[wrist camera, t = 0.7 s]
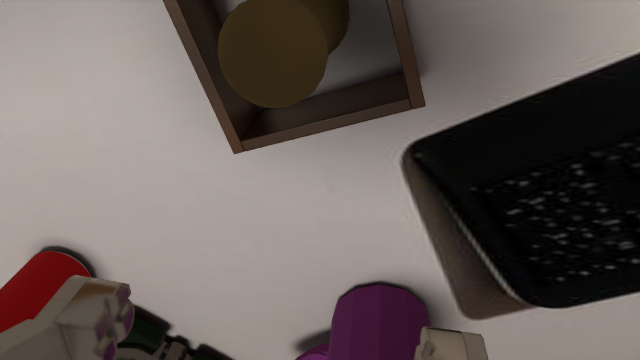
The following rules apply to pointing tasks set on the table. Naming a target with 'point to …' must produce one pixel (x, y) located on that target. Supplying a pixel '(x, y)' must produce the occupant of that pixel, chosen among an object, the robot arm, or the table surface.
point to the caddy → (307, 115)
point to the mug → (373, 326)
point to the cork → (280, 47)
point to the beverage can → (36, 286)
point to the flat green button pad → (151, 345)
